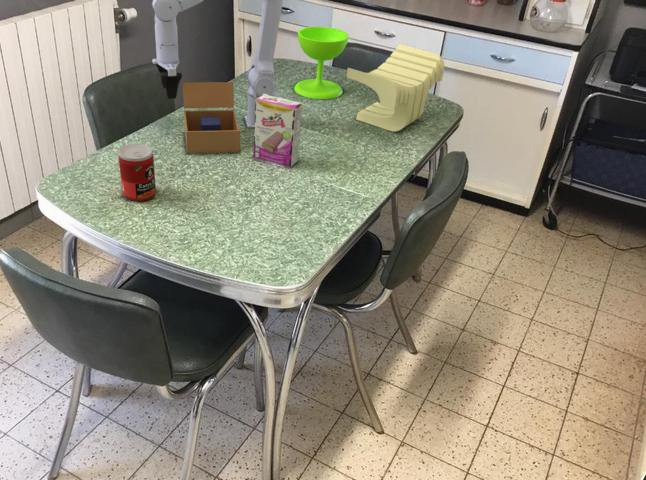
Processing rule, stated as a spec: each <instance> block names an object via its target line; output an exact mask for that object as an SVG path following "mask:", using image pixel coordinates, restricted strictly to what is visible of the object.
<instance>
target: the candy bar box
mask: <svg viewBox="0 0 646 480" xmlns="http://www.w3.org/2000/svg"><path fill="white" fill-rule="evenodd" d="M302 115H303V102H300V101H297V100H296V101H295V100H293V99H287V98H283V97H281V96H280V97H276V96H271V95H267V94H262V95H261V96H259V97H258V98H257V99H256V100H255V125H254V126H255V127H253V128H254V129H253V132H254V133H253V158H254V159H258V160H261V161H266V162H269V163H274V164H277V165H281V166H284V167H289V168H291V167H292V166H294V165H295V164H297V163H298V162H299V153H300V138H301V127H302Z"/></svg>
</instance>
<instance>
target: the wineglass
mask: <svg viewBox="0 0 646 480" xmlns="http://www.w3.org/2000/svg"><path fill="white" fill-rule="evenodd" d="M349 37H350V35H349V33H348V32H346V31H344V30H342V29H340V28H339V29H338V28H334V27H330V26H329V27H328V26H308V27H303V28H300V29H299V30H298V32H297V39H298V40H297V41H298V43H299V46H300V48H301V50H302V52H303V53H304V54H305V55H306V56H308V57H309V58H310V59H312V60H315V61H317V67H316V78H310V79H309V78H307V79H303V80H300V81H298V82H297V83H296V84H295V85H294V87H293V89H294V92H295V93H296V94H297V95H299V96H302V97H305V98H307V99H311V100H312V99H314V100H331V99H336V98H338V97H340V96H342V94H343V93H344V92H343V89H342V87H341V86H340V85H339V84H338V83H336V82H334V81H331V80H327V79H323V76H324V65H325V62H326V61H332V60H333V59H336V58H337V57H338V56H340V54H342V53H343V52H344V50H345V49H346V46H347V44H348V42H349Z"/></svg>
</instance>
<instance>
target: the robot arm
mask: <svg viewBox="0 0 646 480" xmlns="http://www.w3.org/2000/svg"><path fill="white" fill-rule="evenodd" d="M202 2H204V0H152V2H151V5H152V6H151V7H152V9H153V11H154V35H155V36H154V37H155V52H156V53H155V54H156V58H152V59H151V61H152V64H154V65H155V66H156V68H157V69H158V72H159V75H160V80H161V84H162V87H163V89H165V93H166V96H167V99H168V100H173V99H176V98H177V94H178V89H179V85H180V82H181V80H182V78H183V74H182V72H177V68H178V66H179V65H180V58H179V39H178V38H179V37H178V36H179V35H178V24H177V16H178V14H179V13H182V12H183V11H186V10H188V9H191V8H193V7H194V6H197V5H199V4H201V3H202ZM283 4H284V0H263V1H262V8H261V9H262V10H261V15H260V22H259V29H258V35H257V41H256V49H255V55H254V57H253V59H252V61H251V65H250V67H249V69H248V70H247V73H246V79H247V82H248V83H249V84H250V85H249V87H248V89H247V111H246V112H247V113H246V115H244V120H245V123H246V127H247V128H254V127H255V126H254V125H255V100H256V99H257V98H258V97H259V96H261V95H262V94H267V95H271V96H276V97H280V98H281V94H280V92H274V91H275V90H276V81H275V78H274V76H275V67H274V66H275V65H274V60H275V59H274V58H275V51H276V46H277V40H278V34H279V28H280V21H281V15H282V10H283Z"/></svg>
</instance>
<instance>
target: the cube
mask: <svg viewBox="0 0 646 480" xmlns="http://www.w3.org/2000/svg"><path fill="white" fill-rule="evenodd" d="M201 131H221V124H220V120H219V117H201Z"/></svg>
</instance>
